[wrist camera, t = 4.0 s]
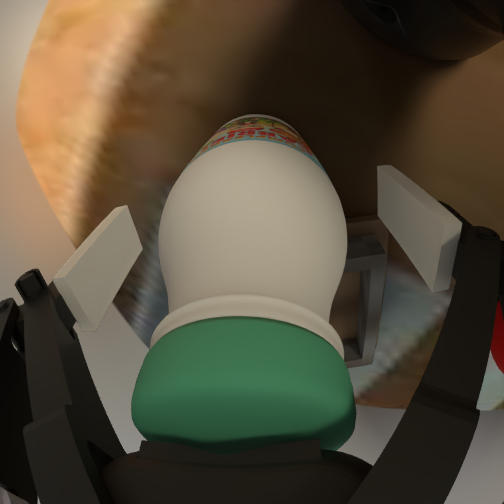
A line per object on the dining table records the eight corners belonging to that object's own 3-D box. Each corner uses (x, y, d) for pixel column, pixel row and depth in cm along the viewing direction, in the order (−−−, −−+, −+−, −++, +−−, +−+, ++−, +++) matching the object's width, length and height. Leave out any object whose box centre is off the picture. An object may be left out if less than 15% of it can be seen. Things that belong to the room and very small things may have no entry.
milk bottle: (321, 192, 23) (421, 455, 6) (229, 223, 25) (181, 490, 8) (288, 98, 19) (460, 207, 2) (189, 136, 21) (-11, 347, 4)
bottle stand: (197, 238, 26) (187, 264, 22) (385, 213, 24) (403, 236, 20) (235, 359, 34) (233, 387, 30) (373, 341, 32) (382, 368, 28)
